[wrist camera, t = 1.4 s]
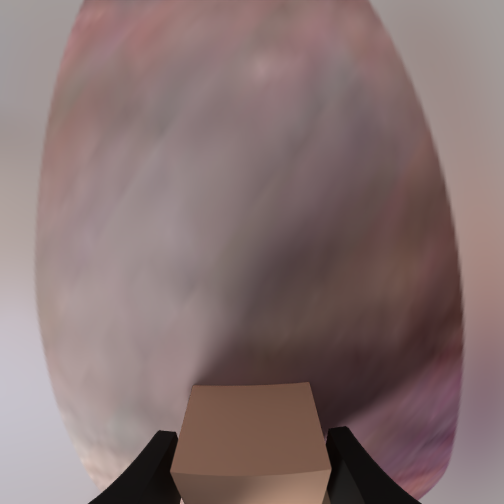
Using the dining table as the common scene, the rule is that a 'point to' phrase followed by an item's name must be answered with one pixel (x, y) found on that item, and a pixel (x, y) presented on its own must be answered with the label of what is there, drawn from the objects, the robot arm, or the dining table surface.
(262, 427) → the tan block
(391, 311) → the dining table surface
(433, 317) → the dining table surface
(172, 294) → the dining table surface
